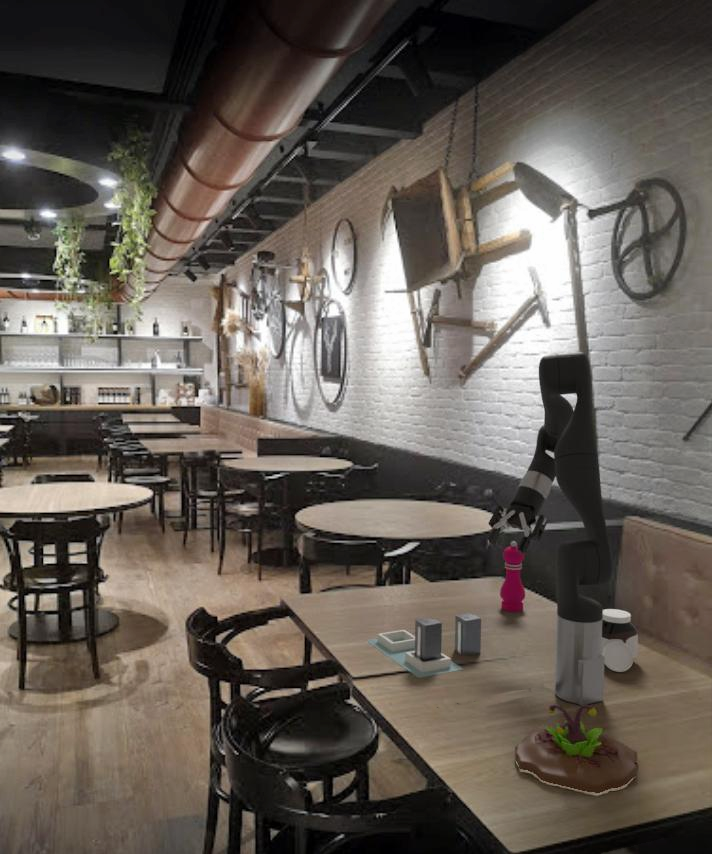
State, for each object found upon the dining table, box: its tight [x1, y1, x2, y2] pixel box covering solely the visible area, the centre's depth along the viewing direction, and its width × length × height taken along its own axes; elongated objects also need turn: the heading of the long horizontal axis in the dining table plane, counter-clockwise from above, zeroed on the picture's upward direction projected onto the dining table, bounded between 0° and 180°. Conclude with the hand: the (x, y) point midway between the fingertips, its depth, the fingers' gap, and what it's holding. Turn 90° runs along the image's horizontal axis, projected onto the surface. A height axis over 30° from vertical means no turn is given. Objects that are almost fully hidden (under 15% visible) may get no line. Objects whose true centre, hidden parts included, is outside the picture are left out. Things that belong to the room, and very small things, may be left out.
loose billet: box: [454, 612, 482, 657], centre depth 182 cm, size 4×5×10 cm
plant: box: [514, 704, 638, 793], centre depth 133 cm, size 20×20×11 cm
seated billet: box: [414, 617, 443, 662], centre depth 174 cm, size 4×5×10 cm
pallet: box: [365, 629, 464, 679], centre depth 181 cm, size 26×12×4 cm, turn 26°
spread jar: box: [601, 608, 639, 673], centre depth 179 cm, size 12×11×12 cm
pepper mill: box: [499, 540, 526, 613], centre depth 221 cm, size 7×7×20 cm
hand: (505, 548), depth 187 cm, fingers open, 8 cm apart
